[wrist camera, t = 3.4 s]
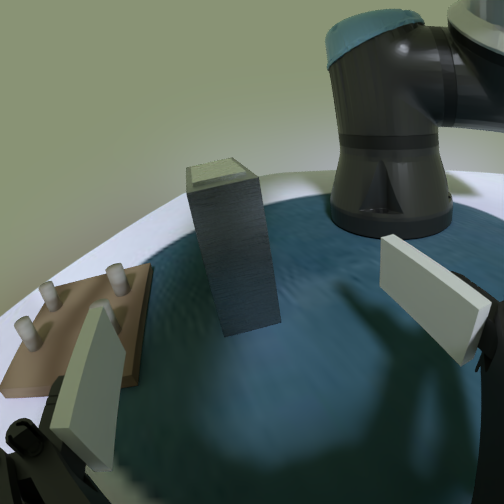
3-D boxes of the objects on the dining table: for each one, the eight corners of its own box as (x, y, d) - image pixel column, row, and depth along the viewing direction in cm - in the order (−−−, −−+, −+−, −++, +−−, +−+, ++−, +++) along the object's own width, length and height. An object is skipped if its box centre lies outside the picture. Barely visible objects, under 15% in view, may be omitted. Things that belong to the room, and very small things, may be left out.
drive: (252, 261, 30) (232, 155, 26) (281, 322, 21) (258, 173, 17) (211, 271, 30) (185, 165, 25) (224, 337, 21) (185, 189, 16)
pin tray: (153, 271, 32) (143, 240, 30) (137, 385, 17) (114, 344, 16) (58, 294, 30) (46, 267, 29) (5, 398, 16) (-20, 364, 14)
